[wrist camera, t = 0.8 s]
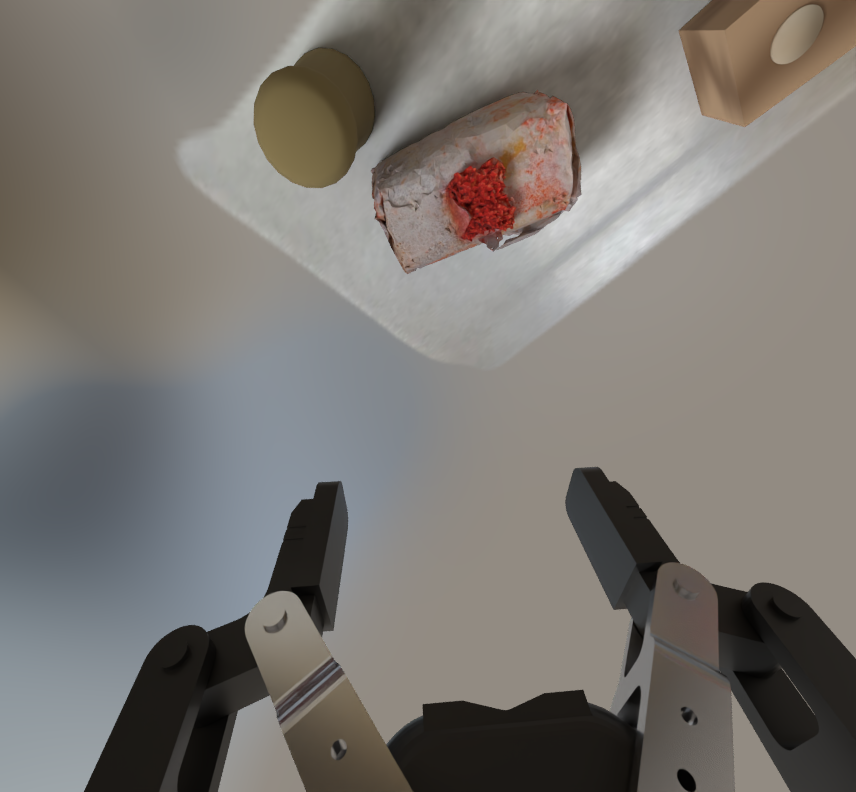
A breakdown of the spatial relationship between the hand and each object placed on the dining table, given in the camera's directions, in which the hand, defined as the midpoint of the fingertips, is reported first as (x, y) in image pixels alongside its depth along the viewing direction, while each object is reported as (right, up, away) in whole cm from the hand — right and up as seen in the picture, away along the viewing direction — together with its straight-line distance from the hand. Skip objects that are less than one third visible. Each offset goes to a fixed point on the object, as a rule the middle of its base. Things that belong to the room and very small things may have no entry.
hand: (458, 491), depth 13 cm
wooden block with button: (+20, +27, +12) cm, 36 cm away
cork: (-8, +24, +13) cm, 29 cm away
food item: (+2, +21, +17) cm, 27 cm away
